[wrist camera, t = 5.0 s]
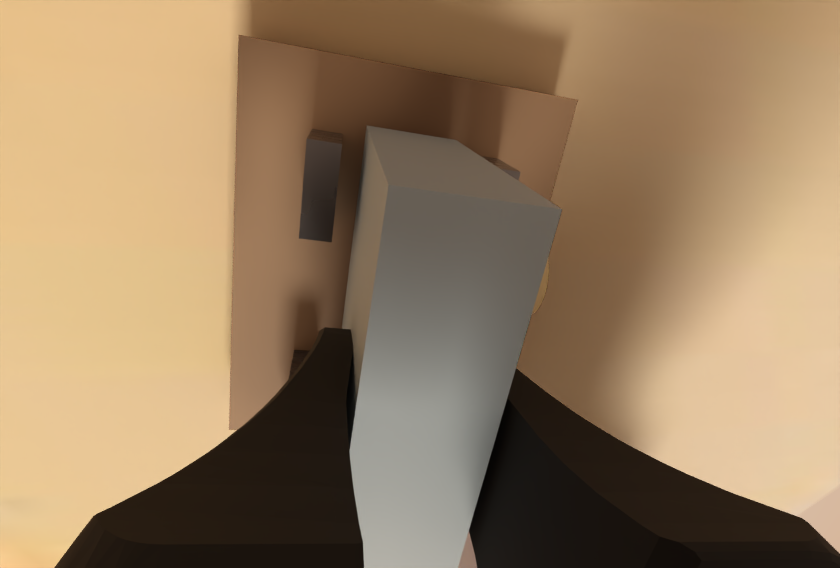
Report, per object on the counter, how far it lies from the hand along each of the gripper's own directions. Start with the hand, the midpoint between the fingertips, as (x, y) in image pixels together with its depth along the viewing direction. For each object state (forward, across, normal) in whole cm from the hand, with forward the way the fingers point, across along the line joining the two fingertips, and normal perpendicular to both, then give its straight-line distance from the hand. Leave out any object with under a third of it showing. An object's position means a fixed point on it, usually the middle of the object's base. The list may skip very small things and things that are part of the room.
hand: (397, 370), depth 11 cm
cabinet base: (+6, 0, 0) cm, 6 cm away
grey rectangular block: (+4, 0, 0) cm, 4 cm away
